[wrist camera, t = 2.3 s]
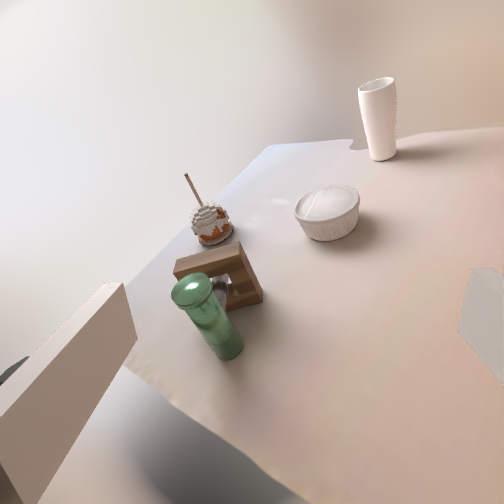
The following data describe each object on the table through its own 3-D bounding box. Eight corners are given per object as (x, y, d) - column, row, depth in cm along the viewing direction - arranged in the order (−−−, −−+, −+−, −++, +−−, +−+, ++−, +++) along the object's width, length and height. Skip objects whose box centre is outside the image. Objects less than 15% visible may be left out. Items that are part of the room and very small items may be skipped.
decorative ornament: (237, 236, 66) (207, 171, 57) (203, 252, 66) (167, 189, 57) (230, 219, 72) (201, 159, 63) (198, 234, 72) (165, 175, 63)
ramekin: (294, 220, 63) (287, 198, 60) (350, 201, 62) (345, 176, 59) (308, 254, 54) (301, 229, 51) (373, 232, 53) (369, 205, 50)
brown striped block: (262, 302, 49) (238, 254, 43) (202, 317, 51) (172, 273, 45) (261, 288, 52) (239, 241, 46) (204, 303, 54) (176, 259, 48)
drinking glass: (388, 145, 73) (382, 75, 64) (407, 154, 67) (402, 78, 59) (361, 157, 73) (351, 89, 64) (377, 167, 68) (368, 93, 59)
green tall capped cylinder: (245, 358, 42) (206, 297, 35) (211, 365, 43) (167, 307, 36) (245, 280, 54) (217, 222, 47) (219, 287, 55) (187, 231, 48)
